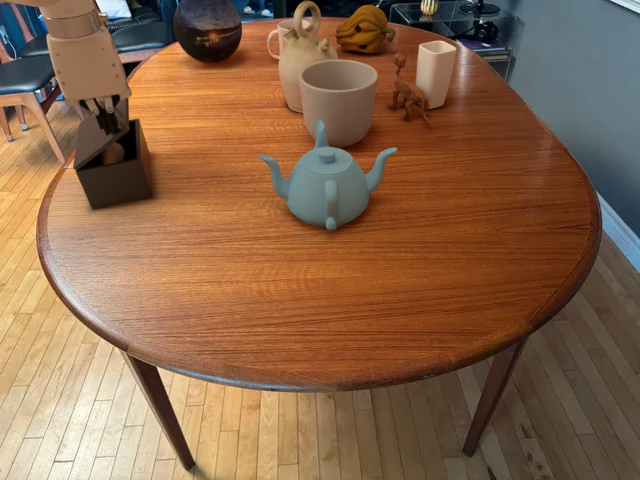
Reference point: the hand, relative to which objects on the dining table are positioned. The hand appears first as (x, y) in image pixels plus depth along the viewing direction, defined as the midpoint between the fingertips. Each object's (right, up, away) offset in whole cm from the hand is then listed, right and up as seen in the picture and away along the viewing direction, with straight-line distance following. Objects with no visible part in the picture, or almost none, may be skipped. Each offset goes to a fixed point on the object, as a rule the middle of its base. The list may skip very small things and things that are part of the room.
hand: (111, 131), depth 84 cm
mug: (+29, +36, +61) cm, 77 cm away
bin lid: (-4, +2, +6) cm, 8 cm away
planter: (+42, +4, +26) cm, 49 cm away
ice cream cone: (-4, -5, +11) cm, 13 cm away
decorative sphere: (+4, +37, +63) cm, 73 cm away
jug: (+35, +16, +39) cm, 55 cm away
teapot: (+39, -12, +7) cm, 42 cm away
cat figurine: (+61, +11, +33) cm, 70 cm away
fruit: (+53, +41, +66) cm, 94 cm away
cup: (+66, +15, +38) cm, 78 cm away
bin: (-4, -7, +14) cm, 16 cm away
